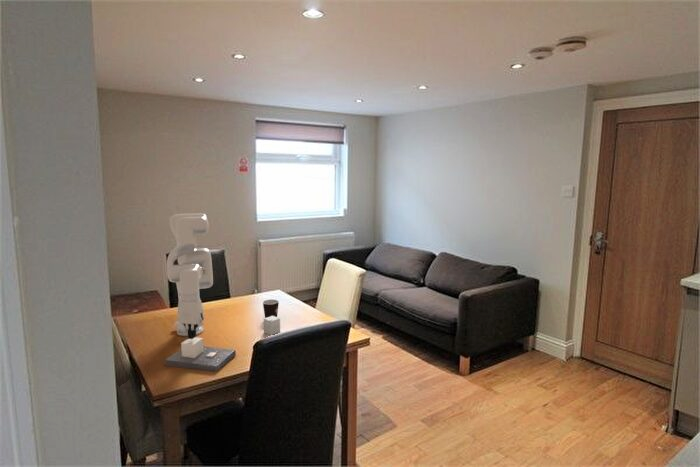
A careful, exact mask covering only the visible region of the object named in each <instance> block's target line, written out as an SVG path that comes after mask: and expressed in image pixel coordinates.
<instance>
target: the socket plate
mask: <svg viewBox="0 0 700 467" xmlns="http://www.w3.org/2000/svg"><path fill="white" fill-rule="evenodd" d="M203 349H204V351H203V352H202V353H200V354H199V355H198V356H196V357H195V358H190V357H182V349H181V348H180V349H178V350H177V351H176V352H175V353H173V354H171V355H170V356H168V357H167V358H165V359H164V365H165V366H166V367H173V368H174V367H175V368H184V369H191V370H197V369H200V370H199V371H205V370H210V371H209V372H213V371H217V372H219V371H220V370H221V369H222V368H223V367H224V366H226V365H227V364H228V363H229V362H230V361H231V360H232V359H233V358H235V356H236V349H231V348H230V349H229V348H222V347H213V346H205V345H203ZM231 358H232V359H231ZM230 359H231V360H230ZM229 360H230V361H229ZM228 361H229V362H228ZM227 362H228V363H227ZM222 366H223V367H222ZM221 367H222V368H221ZM220 368H221V369H220ZM219 369H220V370H219ZM218 370H219V371H218Z"/></svg>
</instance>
